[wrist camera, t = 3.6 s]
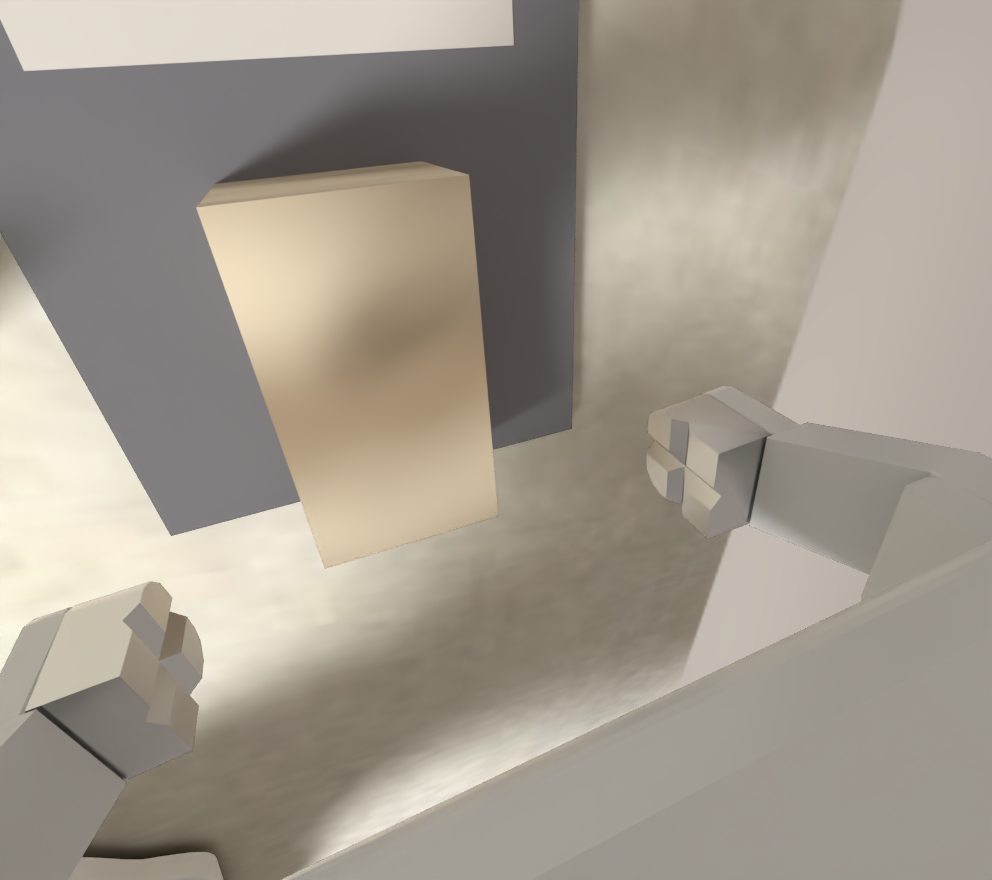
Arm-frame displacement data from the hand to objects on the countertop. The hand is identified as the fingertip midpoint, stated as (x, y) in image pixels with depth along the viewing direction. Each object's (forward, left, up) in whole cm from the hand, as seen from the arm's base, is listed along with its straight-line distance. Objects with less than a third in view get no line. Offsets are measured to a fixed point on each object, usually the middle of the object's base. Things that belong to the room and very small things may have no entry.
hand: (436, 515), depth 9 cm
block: (0, 0, -8) cm, 8 cm away
